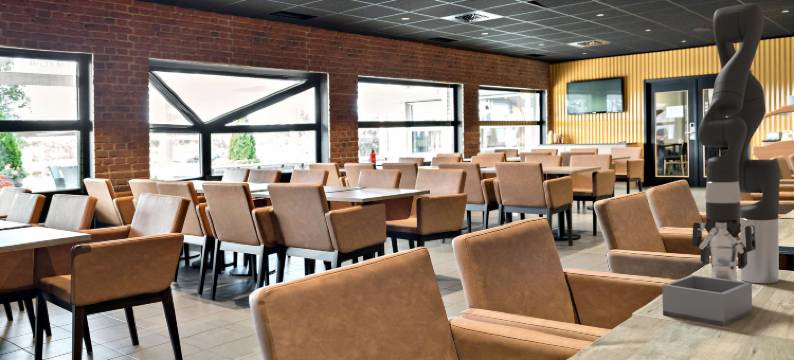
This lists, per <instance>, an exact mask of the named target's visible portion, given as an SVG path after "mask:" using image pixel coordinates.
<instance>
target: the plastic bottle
mask: <svg viewBox="0 0 794 360" xmlns="http://www.w3.org/2000/svg"><path fill="white" fill-rule="evenodd" d="M715 228H716V229H718V231H717V232H716V233H715V234H714V235H713V237H712V238H711V239H710V241H709V254H710V258H711V259H710V260H711V262H710V263H711V272H710V273H711V274H710V277H711V278H718V279H725V280H733V281H738V276H737V265H738V253H739V252H738V250H737V249H736V248H735V246H733V245H732V244H731V242H730V240H729V239H728V237H727V236H725V235H724V234H723V232H722V230H723V229H725V228H727V223H726V222H719V221H715ZM735 239H736V240H738V239H737V237H736V238H735Z"/></svg>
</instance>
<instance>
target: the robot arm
mask: <svg viewBox="0 0 794 360" xmlns="http://www.w3.org/2000/svg"><path fill="white" fill-rule="evenodd" d="M712 17H713V18H712V28H713V34H714V39H715V40H714V41H715V45H716V49H717V54H718V58H719V62H720V68H721V70H720V71H719V72H718V74H717V76H716V78H715V80H714V83H713V91H712V97H711V102H710V103H709V106H708V107H707V110H706V112H705V113H704V115H703V117H702V118H701V121H700V122H699V126H698V130H697V139H698V141H699V143H700V144H701V145H702V146H704V147H708V148H722V147H723V148H727V151H726V152H725V153H724V154H723V155H719V156H714V157H710V158H708V159H707V161H706V187H705V196H704V197H705V219H706V221H705V222H702V221H696V222H694V223H692V237H691V238H692V240H691V241H692V242H691V245H692V246H693V247H695V248H696V247H697V248H698V249H699V251H700V252H699V253H700V261H701V263H702V265H704V266H705V265H709V264H710V246H709V241H710V239H711V238H712V237H713V235H714V234H715V233H716V232H717V231H718V229H716V228H715V221H719V222H726V223H727V228H725V229H723V230H722V232H723V234H724V235H725V236H727V237H728V239H729V240H730V242H731V244H732V245H733V246H735V248H736V249H737V250H738V254H737V268H738V269H740V280H741V281H742V282H748V283H752V284H753V283H754V284H775V283H778V282H779V281H780V279H779V278H780V276H779V270H780V269H779V267H780V266H779V263H780V262H779V258H780V257H779V256H780V255H779V247H780V245H779V243H780V242H779V208H780V186H781V185H780V184H781V168H780V166H779V165H780V164H779V163H778V161H777V160H775V159H766V158H765V159H763V158H762V159H749V158H750V157H749V147H750V143H751V142H752V139H753V137H754V135H755V133H756V132H757V130H758V129H759V127H760V126H761V124H762V122H763V120H764V117H765V115H766V112H767V111H766V102H765V100H766V99H765V92H764V88H763V85H762V84H761V82H760V81H759V80H758V78H757V77H756V76H755V75H754V73H752V72H751V71H750V70H751V68H752V65H753V62H754V59H755V56H756V53H757V50H758V48H759V45H760V42H761V38H762V35H763V32H764V26H765V25H764V24H765V18H764V11H763V9H762V7H761V5H760V4H759V3H756V2H753V3H752V2H749V3H742V4H738V5H730V6H726V7H720V8H717V9H716V10H715V12H714V13H713V16H712ZM740 42H741V43H740ZM734 43H740V46H739V47H738V48H737V50H736V48H735V45H734ZM741 193H743V194H761V195H762V196H761V199H760V200H758V201H757V202H754V203H752V204H749V205H745V206H743V207H741ZM704 230H705V231H706V232H707V234H706V236H705V237H704V238H703V231H704ZM736 237H737V239H738V240H736V239H735V238H736ZM702 239H703V241H702Z"/></svg>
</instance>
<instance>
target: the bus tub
mask: <svg viewBox="0 0 794 360" xmlns="http://www.w3.org/2000/svg"><path fill="white" fill-rule="evenodd" d="M752 287H753V283H752V282H747V281H739V280H737V281H733V280H725V279H718V278H711V276H703V275H696V274H690V275H688V276H685V277H682V278H680V279H679V278H678V279H676V280H673V281H670V282H667V283H664V284H662V291H661V292H662V315H663V316H667V317H672V318H678V319H682V320H689V321H694V322H698V323H704V324H709V325H716V326H719V327H725V326H729V325H730V324H732V323H735V322H737V321H739V320H741V319H743V318H745V317H748V316H749V315H751V314H753V298H752V297H753V289H752Z"/></svg>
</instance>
